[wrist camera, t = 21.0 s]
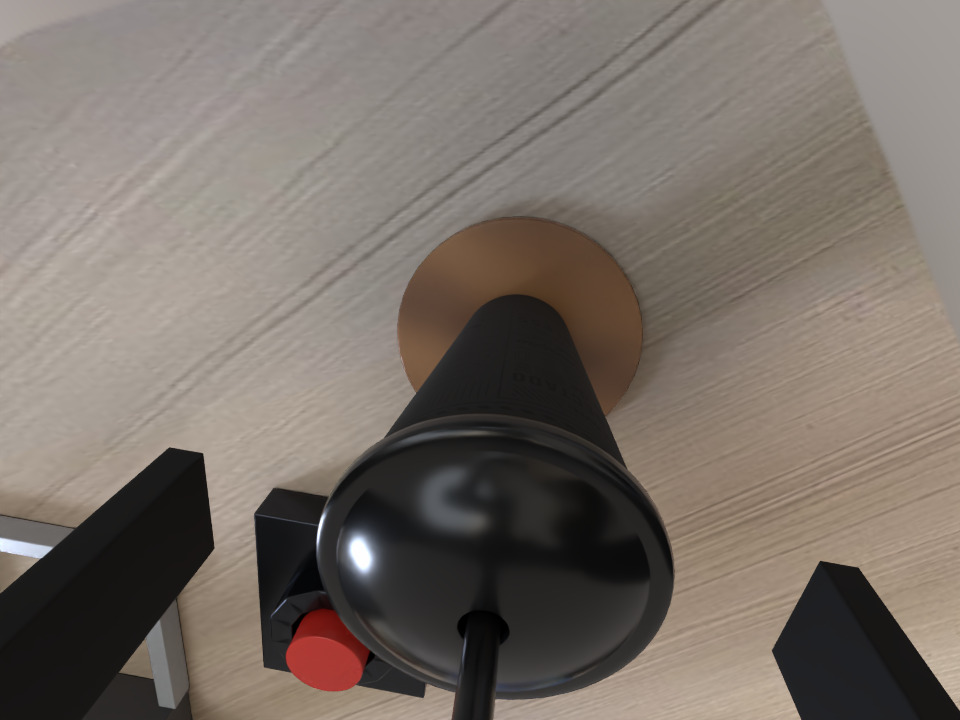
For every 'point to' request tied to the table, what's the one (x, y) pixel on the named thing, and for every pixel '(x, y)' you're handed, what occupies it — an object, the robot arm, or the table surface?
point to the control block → (302, 584)
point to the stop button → (326, 653)
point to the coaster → (526, 271)
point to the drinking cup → (498, 525)
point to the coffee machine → (133, 700)
